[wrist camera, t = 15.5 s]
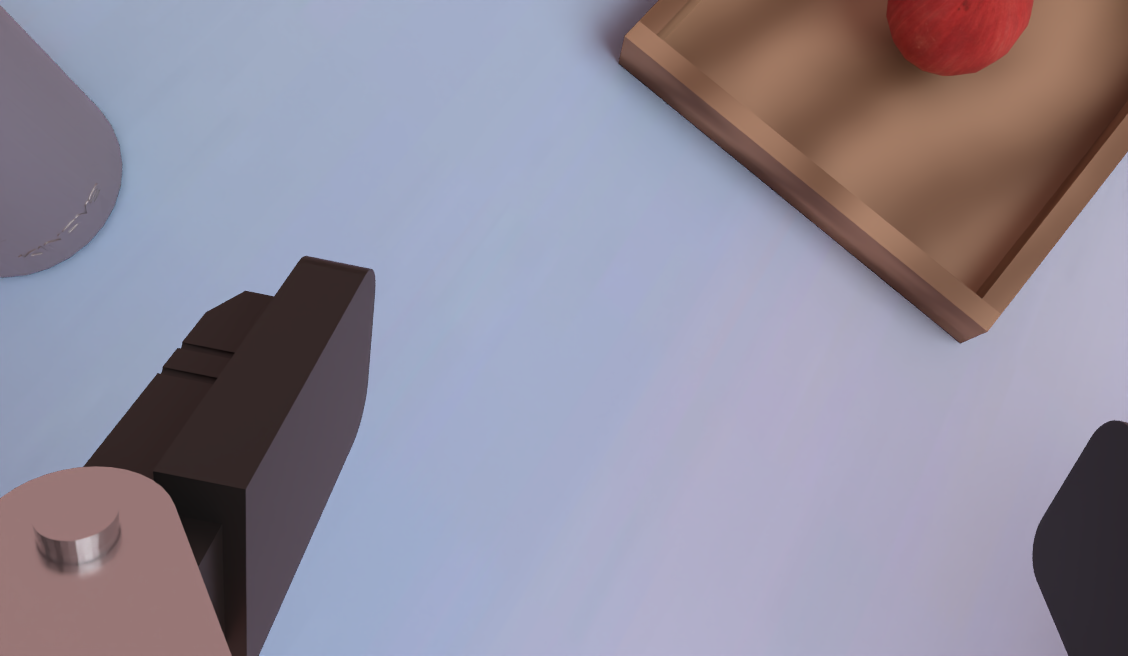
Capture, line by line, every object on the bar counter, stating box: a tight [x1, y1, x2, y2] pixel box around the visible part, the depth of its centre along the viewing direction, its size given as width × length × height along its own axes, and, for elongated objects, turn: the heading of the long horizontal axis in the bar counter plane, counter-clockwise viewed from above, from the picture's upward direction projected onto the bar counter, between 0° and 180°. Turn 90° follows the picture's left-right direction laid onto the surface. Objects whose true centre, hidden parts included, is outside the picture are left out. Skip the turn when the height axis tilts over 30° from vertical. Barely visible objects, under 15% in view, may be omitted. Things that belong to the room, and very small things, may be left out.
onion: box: [886, 0, 1034, 76], centre depth 41 cm, size 6×6×8 cm
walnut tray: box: [619, 0, 1128, 343], centre depth 45 cm, size 20×20×2 cm
